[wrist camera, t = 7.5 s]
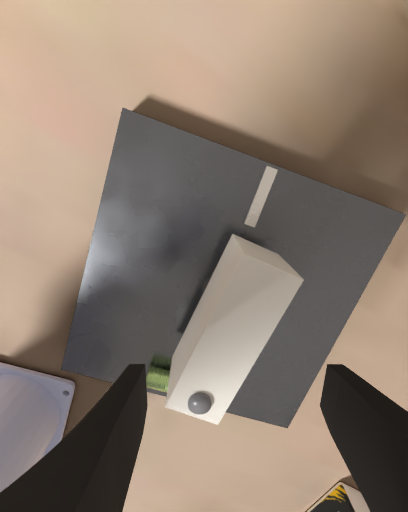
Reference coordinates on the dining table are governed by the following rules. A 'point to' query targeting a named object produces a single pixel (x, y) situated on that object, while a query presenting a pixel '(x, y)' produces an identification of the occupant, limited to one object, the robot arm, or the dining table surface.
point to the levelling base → (216, 260)
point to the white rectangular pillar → (229, 328)
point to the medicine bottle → (341, 500)
